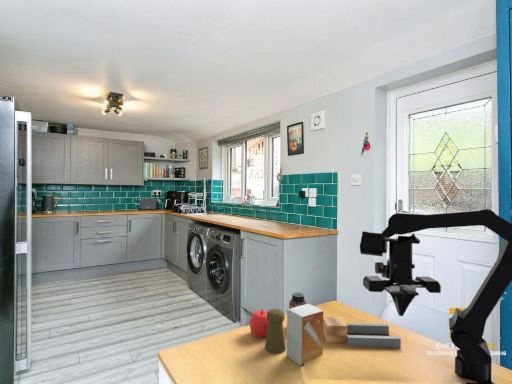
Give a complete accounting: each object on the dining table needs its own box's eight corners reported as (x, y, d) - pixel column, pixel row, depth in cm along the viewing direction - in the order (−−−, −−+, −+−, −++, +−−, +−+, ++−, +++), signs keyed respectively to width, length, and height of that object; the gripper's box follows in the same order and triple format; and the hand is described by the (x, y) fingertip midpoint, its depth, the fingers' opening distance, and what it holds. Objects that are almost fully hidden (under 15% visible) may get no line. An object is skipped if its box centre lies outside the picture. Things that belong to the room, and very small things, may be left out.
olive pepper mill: (261, 350, 84) (261, 311, 84) (270, 341, 89) (270, 304, 89) (280, 356, 81) (281, 316, 81) (288, 346, 86) (289, 308, 86)
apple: (244, 335, 93) (244, 310, 93) (259, 326, 99) (259, 302, 99) (264, 343, 88) (264, 317, 88) (279, 333, 94) (279, 308, 94)
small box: (301, 367, 76) (302, 316, 76) (285, 355, 81) (286, 308, 81) (323, 357, 81) (324, 310, 81) (307, 347, 86) (308, 302, 86)
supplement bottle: (285, 326, 99) (285, 292, 99) (300, 322, 102) (300, 290, 102) (295, 333, 94) (295, 298, 94) (310, 330, 97) (310, 295, 97)
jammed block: (341, 333, 93) (342, 317, 93) (347, 342, 87) (347, 325, 87) (322, 332, 93) (322, 316, 93) (326, 342, 87) (326, 325, 87)
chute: (386, 334, 94) (386, 323, 94) (400, 351, 84) (400, 338, 84) (339, 333, 94) (339, 322, 94) (347, 349, 85) (348, 337, 85)
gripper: (419, 252, 88) (419, 304, 88) (356, 252, 89) (356, 303, 89) (442, 261, 77) (442, 321, 77) (370, 260, 78) (369, 319, 78)
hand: (400, 315), depth 80 cm, fingers closed
